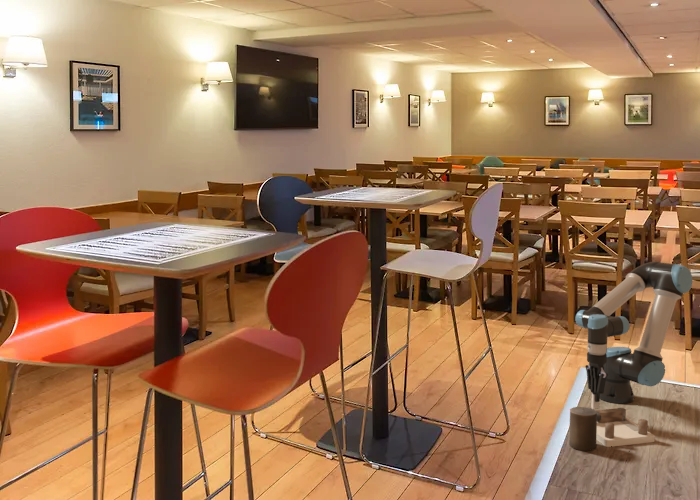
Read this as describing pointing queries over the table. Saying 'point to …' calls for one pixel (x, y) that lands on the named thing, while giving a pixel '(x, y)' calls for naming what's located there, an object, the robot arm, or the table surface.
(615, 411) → the folding leg
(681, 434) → the table surface
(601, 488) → the table surface
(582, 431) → the pillar candle
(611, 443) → the stool seat
